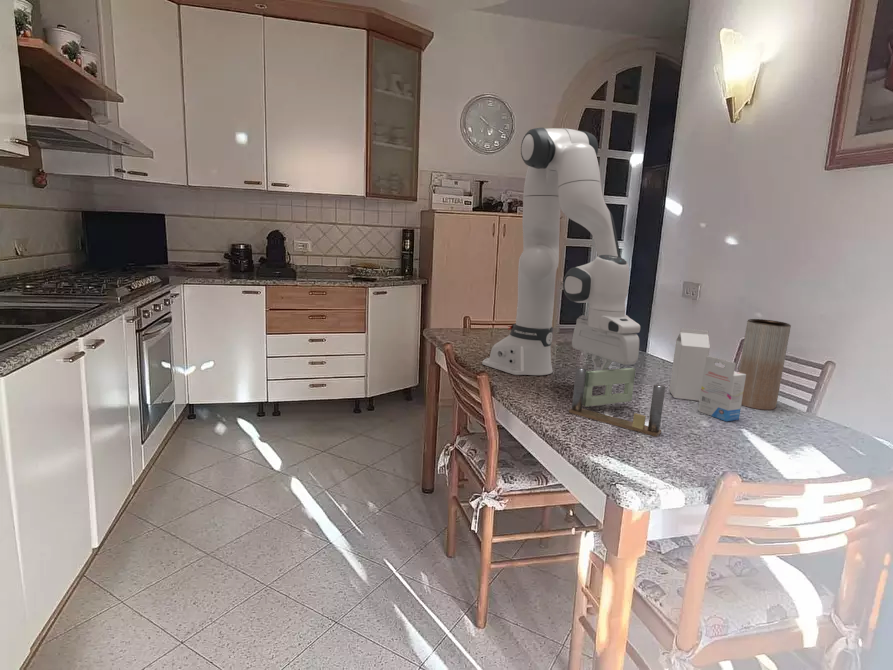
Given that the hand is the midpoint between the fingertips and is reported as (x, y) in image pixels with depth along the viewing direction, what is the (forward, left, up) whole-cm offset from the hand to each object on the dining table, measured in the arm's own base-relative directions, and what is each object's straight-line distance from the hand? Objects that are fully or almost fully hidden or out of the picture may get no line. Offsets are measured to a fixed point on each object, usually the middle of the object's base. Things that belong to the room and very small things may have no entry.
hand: (600, 373), depth 139 cm
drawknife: (+9, -12, -8) cm, 17 cm away
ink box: (+26, +14, -8) cm, 31 cm away
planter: (+31, +33, -8) cm, 46 cm away
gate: (+4, -3, -6) cm, 8 cm away
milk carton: (+15, +25, -8) cm, 30 cm away
